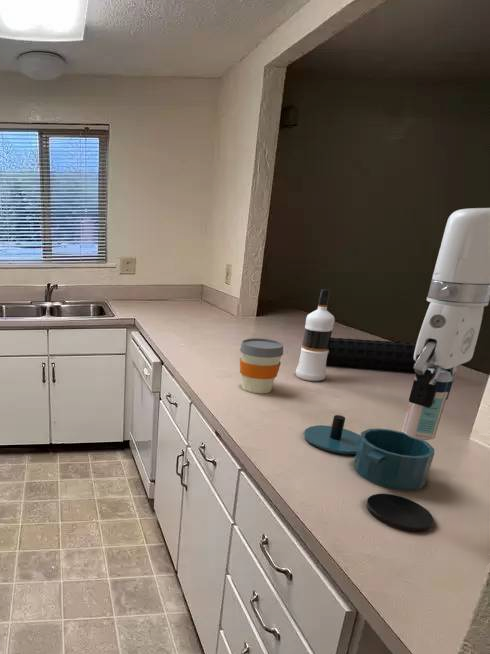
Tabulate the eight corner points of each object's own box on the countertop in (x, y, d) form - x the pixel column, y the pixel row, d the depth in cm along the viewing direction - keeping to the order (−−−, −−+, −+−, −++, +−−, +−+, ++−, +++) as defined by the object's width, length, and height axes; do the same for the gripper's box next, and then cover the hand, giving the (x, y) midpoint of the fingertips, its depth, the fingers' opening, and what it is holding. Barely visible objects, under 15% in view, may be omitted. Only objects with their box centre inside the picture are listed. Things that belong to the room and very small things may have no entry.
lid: (378, 446, 103) (385, 421, 101) (346, 462, 97) (352, 435, 94) (323, 425, 114) (328, 401, 112) (291, 437, 108) (296, 413, 105)
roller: (303, 362, 159) (307, 335, 159) (299, 362, 169) (302, 336, 168) (426, 372, 148) (430, 342, 147) (414, 371, 157) (417, 344, 157)
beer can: (416, 428, 79) (434, 365, 74) (441, 440, 74) (462, 374, 70) (394, 431, 78) (411, 367, 73) (418, 443, 73) (438, 376, 69)
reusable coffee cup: (259, 379, 147) (265, 336, 142) (286, 392, 136) (293, 346, 131) (227, 383, 143) (232, 340, 138) (252, 397, 132) (258, 350, 127)
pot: (441, 475, 92) (452, 443, 89) (398, 502, 83) (408, 468, 80) (378, 450, 102) (386, 421, 99) (334, 471, 93) (341, 440, 90)
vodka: (288, 374, 152) (303, 288, 141) (310, 371, 154) (325, 286, 144) (309, 383, 143) (325, 292, 133) (331, 380, 146) (349, 290, 136)
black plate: (442, 519, 78) (444, 515, 78) (415, 539, 73) (417, 535, 73) (383, 492, 86) (384, 487, 86) (355, 508, 81) (356, 504, 81)
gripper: (464, 302, 60) (429, 420, 66) (511, 291, 68) (476, 398, 75) (404, 294, 66) (377, 404, 73) (454, 286, 74) (426, 385, 81)
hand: (428, 400), depth 73 cm, fingers closed on beer can, 4 cm apart
